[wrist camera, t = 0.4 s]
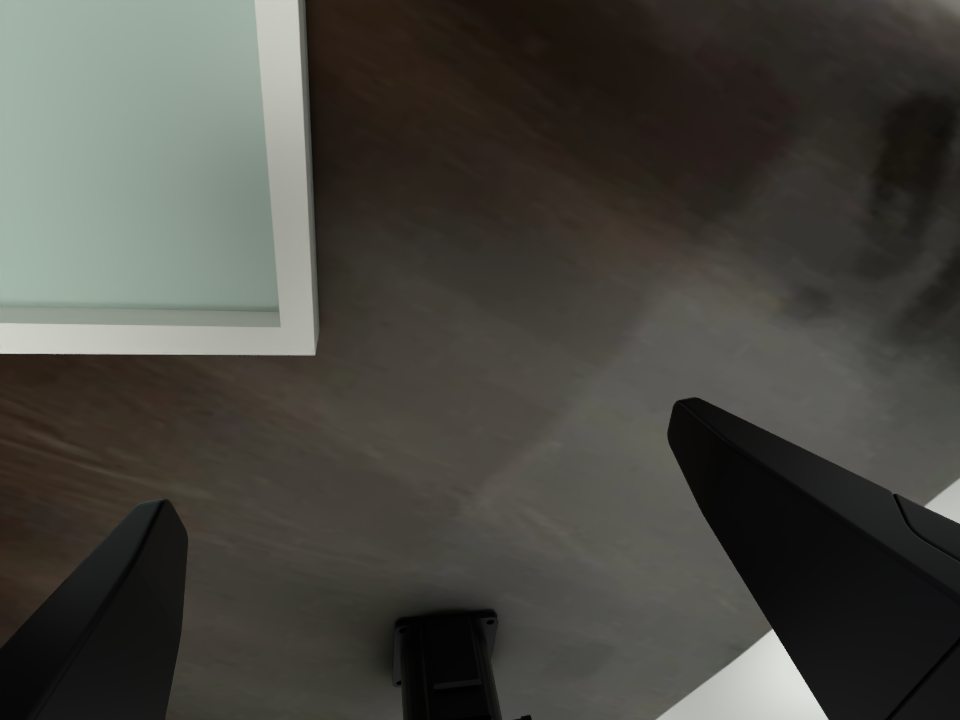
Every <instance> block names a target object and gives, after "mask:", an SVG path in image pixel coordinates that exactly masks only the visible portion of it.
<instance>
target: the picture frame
mask: <svg viewBox="0 0 960 720" xmlns="http://www.w3.org/2000/svg"><path fill="white" fill-rule="evenodd" d="M318 336H319V309H318V286H317V263H316V240H315V216H314V193H313V170H312V147H311V123H310V100H309V77H308V54H307V31H306V7H305V0H0V354H173V355H315V353H316V347H317V342H318Z"/></svg>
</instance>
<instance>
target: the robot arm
mask: <svg viewBox="0 0 960 720" xmlns="http://www.w3.org/2000/svg"><path fill="white" fill-rule="evenodd" d="M667 437H668V442H669V445H670V447H671V449H672V451H673V453H674V455H675V458H676V460H677V462H678V464H679V466H680V468H681V470H682V472H683V474H684V477H685V479H686V481H687V483H688V485H689V487H690V489H691V491H692V493H693V496H694V498H695V500H696V502H697V504H698V506H699V508H700V510H701V512H702V513H703V515H704V517H705V519H706V520H707V522H708V524H709V525H710V527H711V529H712V530H713V532H714V534H715V535H716V537H717V538H718V540H719V542H720V543H721V545H722V547H723V548H724V550H725V551H726V553H727V555H728V556H729V558H730V560H731V561H732V563H733V565H734V566H735V568H736V569H737V571H738V573H739V574H740V576H741V578H742V579H743V581H744V582H745V584H746V586H747V587H748V589H749V591H750V592H751V594H752V595H753V597H754V599H755V600H756V602H757V604H758V605H759V607H760V609H761V610H762V612H763V613H764V615H765V617H766V618H767V620H768V622H769V623H770V625H771V626H772V628H773V630H774V631H775V633H776V635H777V636H778V638H779V640H780V641H781V643H782V644H783V646H784V648H785V649H786V651H787V652H788V654H789V656H790V657H791V659H792V661H793V662H794V664H795V666H796V667H797V669H798V670H799V672H800V674H801V675H802V677H803V679H804V680H805V682H806V684H807V685H808V687H809V688H810V690H811V692H812V693H813V695H814V697H815V698H816V700H817V701H818V703H819V705H820V706H821V708H822V710H823V711H824V713H825V714H826V716H827V718H828V719H829V720H960V524H959V523H957V522H955V521H952V520H950V519H948V518H946V517H944V516H942V515H940V514H938V513H935V512H933V511H931V510H929V509H927V508H925V507H923V506H920V505H918V504H916V503H914V502H912V501H910V500H908V499H906V498H904V497H902V496H900V495H898V494H892V492H891V491H889V490H887V489H885V488H883V487H881V486H879V485H877V484H875V483H873V482H871V481H869V480H867V479H865V478H863V477H861V476H858V475H856V474H854V473H852V472H850V471H848V470H846V469H844V468H842V467H840V466H838V465H836V464H834V463H832V462H830V461H828V460H826V459H824V458H821V457H819V456H817V455H815V454H813V453H811V452H809V451H807V450H805V449H803V448H801V447H799V446H797V445H795V444H793V443H791V442H789V441H786V440H784V439H782V438H780V437H778V436H776V435H774V434H772V433H770V432H768V431H766V430H764V429H762V428H760V427H758V426H756V425H754V424H752V423H749V422H747V421H745V420H743V419H741V418H739V417H737V416H735V415H733V414H731V413H729V412H727V411H725V410H723V409H721V408H719V407H717V406H714V405H712V404H710V403H708V402H706V401H704V400H702V399H700V398H697V397H693V398H687V399H682V400H678V401H676V402H675V404H674V405H673V409H672V413H671V418H670V423H669V427H668V433H667ZM187 551H188V536H187V532H186V529H185V527H184V525H183V523H182V521H181V519H180V518H179V516H178V514H177V512H176V510H175V509H174V507H173V505H172V503H171V502H170V501H169V500H168V499H165V498H161V499H156V500H151V501H145V502H142V503H139V504H138V505H136V506H135V507H134V508H133V509H132V510H131V511H130V512H129V513H128V515H127V516H126V517H125V518H124V519H123V520H122V521H121V522H120V523H119V524H118V525H117V526H116V527H115V528H114V529H113V530H112V531H111V532H110V533H109V535H108V536H107V537H106V538H105V539H104V540H103V541H102V542H101V543H100V544H99V545H98V546H97V547H96V548H95V549H94V550H93V551H92V552H91V554H90V555H89V556H88V557H87V558H86V559H85V560H84V561H83V562H82V563H81V564H80V565H79V566H78V567H77V568H76V569H75V570H74V571H73V572H72V574H71V575H70V576H69V577H68V578H67V579H66V580H65V581H64V582H63V583H62V584H61V585H60V586H59V587H58V588H57V589H56V590H55V591H54V593H53V594H52V595H51V596H50V597H49V598H48V599H47V600H46V601H45V602H44V603H43V604H42V605H41V606H40V607H39V608H38V609H37V610H36V611H35V613H34V614H33V615H32V616H31V617H30V618H29V619H28V620H27V621H26V622H25V623H24V624H23V625H22V626H21V627H20V628H19V629H18V630H17V632H16V633H15V634H14V635H13V636H12V637H11V638H10V639H9V640H8V641H7V642H6V643H5V644H4V645H3V646H2V647H1V648H0V720H165V716H166V711H167V705H168V700H169V695H170V690H171V685H172V680H173V674H174V669H175V664H176V659H177V654H178V648H179V642H180V636H181V629H182V619H183V606H184V592H185V578H186V564H187ZM497 624H498V619H497V614H496V613H495V612H481V613H470V614H459V615H448V616H438V617H427V618H416V619H405V620H400V621H398V622H396V623H395V629H394V652H393V674H392V682H393V686H395V687H402V706H403V720H502V716H501V711H500V706H499V701H498V696H497V690H496V685H495V680H494V675H493V670H492V665H491V656H492V651H493V645H494V640H495V635H496V629H497ZM515 720H532V719H531V716H530V715H526V716H521V718H520V719H515Z"/></svg>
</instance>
